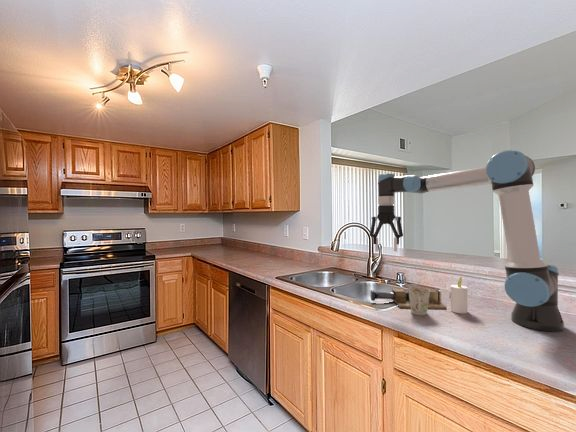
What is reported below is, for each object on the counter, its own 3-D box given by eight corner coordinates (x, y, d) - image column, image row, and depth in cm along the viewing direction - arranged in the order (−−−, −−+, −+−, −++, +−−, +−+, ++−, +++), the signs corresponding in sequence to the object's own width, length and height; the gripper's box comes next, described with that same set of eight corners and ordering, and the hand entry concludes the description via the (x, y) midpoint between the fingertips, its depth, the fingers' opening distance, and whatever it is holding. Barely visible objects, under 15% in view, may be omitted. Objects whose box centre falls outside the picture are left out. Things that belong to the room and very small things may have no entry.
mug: (428, 310, 124) (428, 287, 124) (432, 321, 112) (432, 295, 112) (407, 308, 126) (407, 286, 126) (409, 318, 115) (409, 293, 114)
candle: (450, 307, 128) (450, 273, 128) (467, 310, 124) (468, 275, 124) (448, 311, 123) (449, 276, 123) (466, 314, 119) (466, 278, 119)
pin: (418, 302, 134) (418, 292, 134) (372, 301, 135) (372, 291, 135) (414, 299, 139) (414, 289, 139) (370, 298, 140) (370, 289, 140)
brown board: (449, 309, 126) (449, 296, 126) (399, 308, 127) (399, 296, 127) (429, 295, 146) (429, 285, 145) (387, 295, 147) (387, 284, 147)
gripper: (405, 205, 144) (405, 250, 145) (362, 205, 146) (362, 249, 146) (410, 204, 137) (410, 252, 137) (365, 205, 138) (365, 251, 139)
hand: (386, 250), depth 142 cm, fingers open, 8 cm apart
